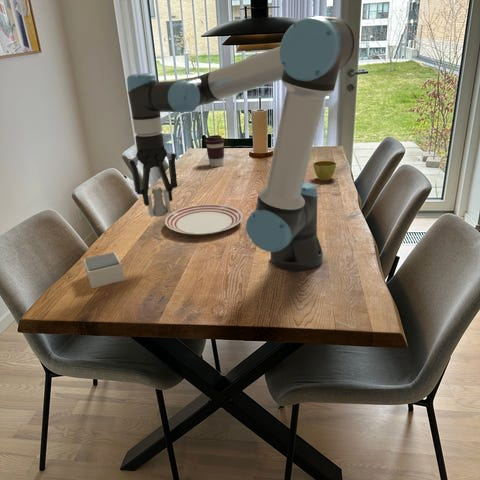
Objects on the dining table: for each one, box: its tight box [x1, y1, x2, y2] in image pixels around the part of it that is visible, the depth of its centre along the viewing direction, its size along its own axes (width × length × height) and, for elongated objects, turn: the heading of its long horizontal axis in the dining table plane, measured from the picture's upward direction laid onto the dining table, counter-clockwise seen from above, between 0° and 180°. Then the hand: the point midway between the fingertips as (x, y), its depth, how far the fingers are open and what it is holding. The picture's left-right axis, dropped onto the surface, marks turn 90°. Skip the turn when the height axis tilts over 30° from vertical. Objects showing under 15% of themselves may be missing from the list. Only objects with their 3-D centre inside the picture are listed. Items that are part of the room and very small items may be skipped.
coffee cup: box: [204, 134, 225, 168], centre depth 237 cm, size 10×10×15 cm
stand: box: [83, 252, 125, 289], centre depth 131 cm, size 9×9×5 cm
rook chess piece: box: [151, 186, 168, 218], centre depth 134 cm, size 4×4×8 cm
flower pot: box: [312, 160, 337, 182], centre depth 205 cm, size 10×10×7 cm
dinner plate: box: [164, 203, 244, 236], centre depth 164 cm, size 28×27×3 cm
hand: (159, 213), depth 135 cm, fingers closed on rook chess piece, 4 cm apart
